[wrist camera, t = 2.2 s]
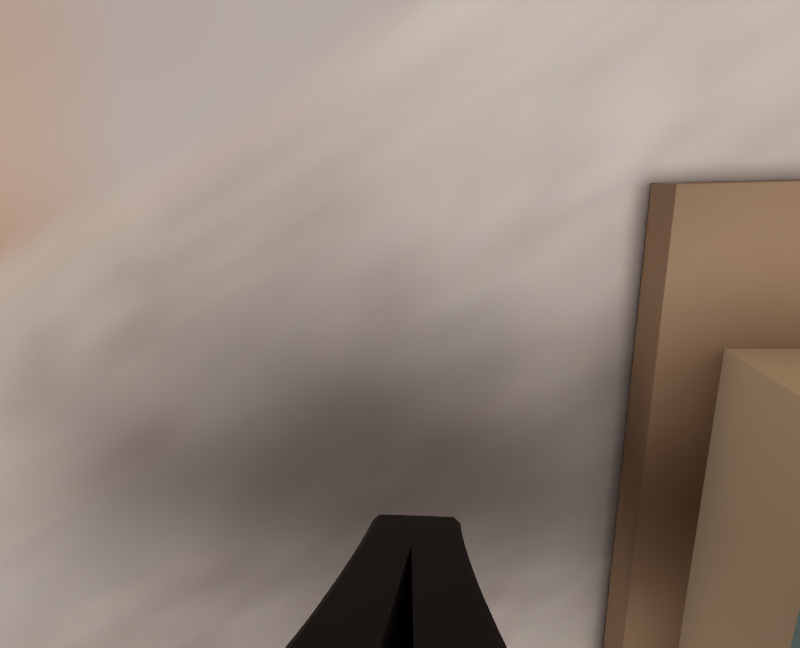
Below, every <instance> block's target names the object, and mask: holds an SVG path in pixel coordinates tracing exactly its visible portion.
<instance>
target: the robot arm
mask: <svg viewBox="0 0 800 648" xmlns="http://www.w3.org/2000/svg"><path fill="white" fill-rule="evenodd" d="M285 648H507V647H506V645H505V643H504V641H503V639H502V637H501V635H500V633H499V631H498V628H497V626H496V624H495V622H494V619H493V617H492V615H491V613H490V611H489V608H488V606H487V604H486V602H485V599H484V597H483V595H482V592H481V590H480V587H479V585H478V582H477V580H476V577H475V575H474V572H473V569H472V566H471V564H470V561H469V558H468V555H467V551H466V548H465V545H464V541H463V537H462V532H461V525H460V523H459V522H458V521H457V520H456V519H455V518H454V517H435V516H407V515H379V516H377V517H376V518H375V519H374V520H373V521H372V523H371V525H370V527H369V529H368V531H367V532H366V534H365V536H364V538H363V539H362V541H361V543H360V544H359V546H358V548H357V549H356V551H355V552H354V554H353V556H352V557H351V559H350V560H349V562H348V563H347V565H346V566H345V568H344V569H343V571H342V572H341V574H340V575H339V577H338V578H337V580H336V581H335V582H334V584H333V585H332V587H331V588H330V589H329V591H328V592H327V594H326V595H325V596H324V598H323V599H322V601H321V602H320V604H319V605H318V606H317V608H316V609H315V610H314V612H313V613H312V615H311V616H310V617H309V618H308V620H307V621H306V622H305V624H304V625H303V626H302V627H301V629H300V630H299V631H298V632H297V634H296V635H295V636H294V637H293V639H292V640H291V641H290V642H289V644H288V645H287V646H286V647H285Z"/></svg>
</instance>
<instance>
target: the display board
mask: <svg viewBox="0 0 800 648" xmlns="http://www.w3.org/2000/svg"><path fill="white" fill-rule="evenodd" d="M724 349H800V180H767V181H727V182H686V183H651V190H650V200H649V209H648V219H647V229H646V238H645V248H644V258H643V267H642V277H641V287H640V296H639V306H638V315H637V325H636V335H635V344H634V354H633V364H632V373H631V383H630V392H629V402H628V412H627V421H626V431H625V441H624V450H623V460H622V469H621V479H620V489H619V498H618V508H617V518H616V527H615V537H614V546H613V556H612V566H611V575H610V585H609V595H608V604H607V614H606V623H605V633H604V643H603V648H678V646H679V640H680V633H681V627H682V621H683V614H684V608H685V601H686V595H687V588H688V582H689V575H690V569H691V562H692V556H693V549H694V543H695V536H696V530H697V524H698V517H699V511H700V504H701V498H702V491H703V485H704V478H705V472H706V465H707V459H708V452H709V446H710V439H711V433H712V427H713V420H714V414H715V407H716V401H717V394H718V388H719V381H720V375H721V368H722V362H723V355H724Z"/></svg>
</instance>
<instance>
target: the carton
mask: <svg viewBox="0 0 800 648" xmlns="http://www.w3.org/2000/svg"><path fill="white" fill-rule="evenodd" d="M678 648H800V349H724V355H723V362H722V368H721V375H720V381H719V388H718V394H717V401H716V407H715V414H714V420H713V427H712V433H711V439H710V446H709V452H708V459H707V465H706V472H705V478H704V485H703V491H702V498H701V504H700V511H699V517H698V524H697V530H696V536H695V543H694V549H693V556H692V562H691V569H690V575H689V582H688V588H687V595H686V601H685V608H684V614H683V621H682V627H681V633H680V640H679V646H678Z"/></svg>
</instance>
